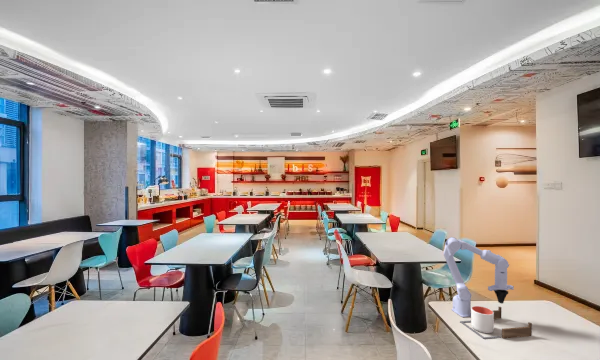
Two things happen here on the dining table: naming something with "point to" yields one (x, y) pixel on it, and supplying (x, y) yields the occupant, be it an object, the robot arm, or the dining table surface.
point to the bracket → (477, 332)
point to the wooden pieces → (513, 331)
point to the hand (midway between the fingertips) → (500, 302)
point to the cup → (482, 319)
